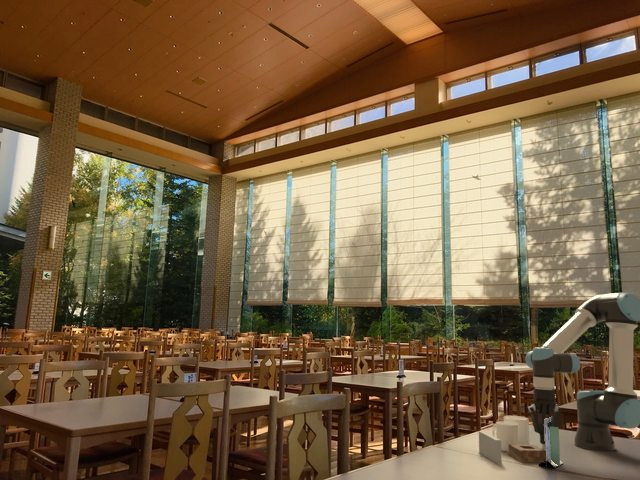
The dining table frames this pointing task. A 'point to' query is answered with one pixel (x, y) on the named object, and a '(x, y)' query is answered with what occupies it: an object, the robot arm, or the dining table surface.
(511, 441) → the cup
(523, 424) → the mug
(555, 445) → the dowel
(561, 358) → the robot arm
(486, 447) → the wall
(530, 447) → the block
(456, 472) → the dining table surface
